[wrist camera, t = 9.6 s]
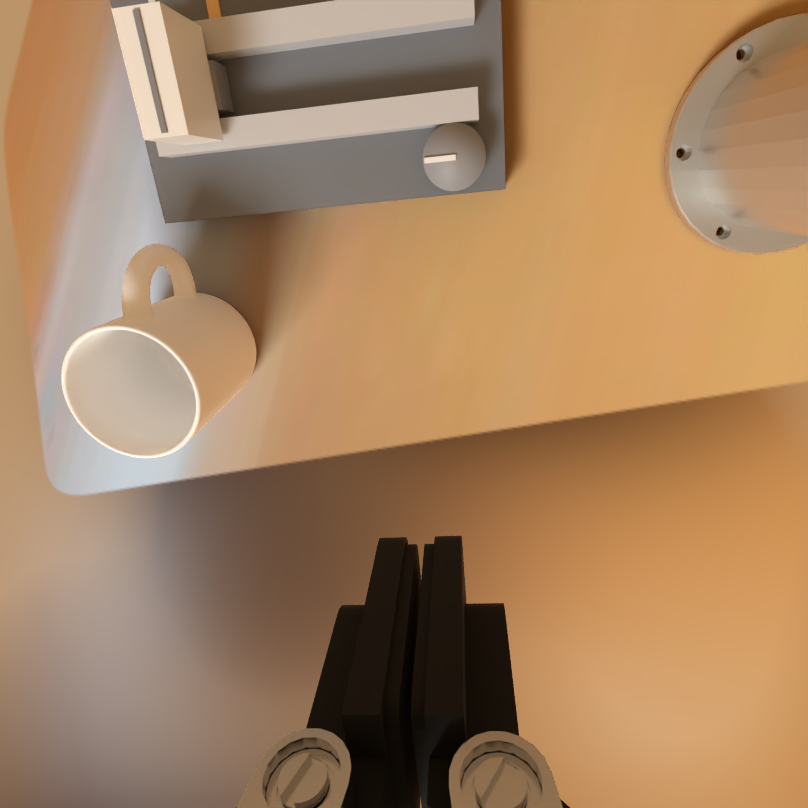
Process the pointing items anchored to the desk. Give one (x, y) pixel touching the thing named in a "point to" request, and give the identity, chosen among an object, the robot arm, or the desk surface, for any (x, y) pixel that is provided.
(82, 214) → the desk surface
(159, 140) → the fader
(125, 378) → the mug
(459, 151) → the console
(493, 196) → the desk surface
